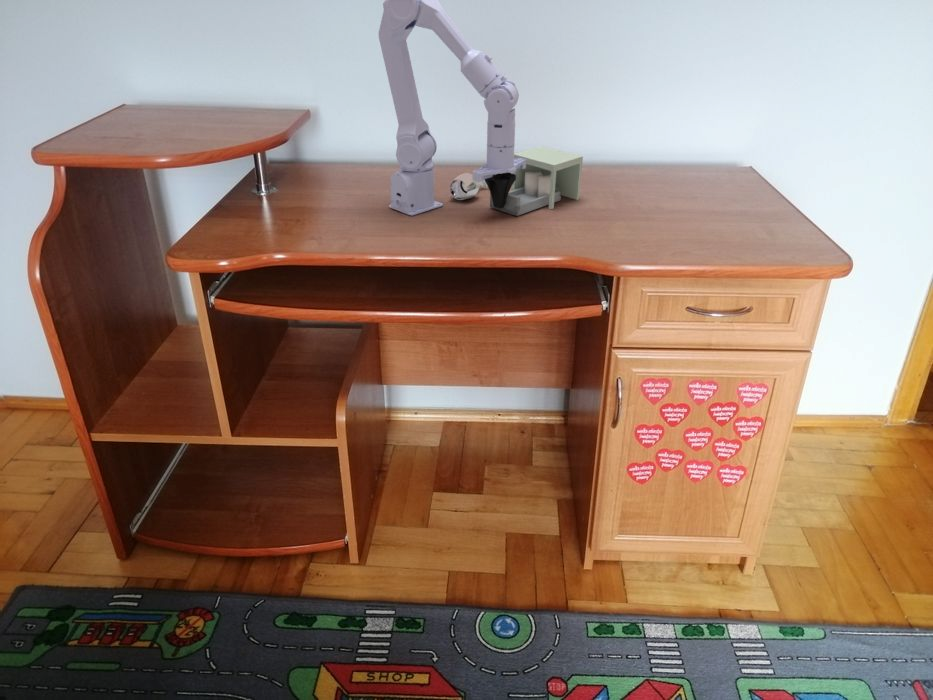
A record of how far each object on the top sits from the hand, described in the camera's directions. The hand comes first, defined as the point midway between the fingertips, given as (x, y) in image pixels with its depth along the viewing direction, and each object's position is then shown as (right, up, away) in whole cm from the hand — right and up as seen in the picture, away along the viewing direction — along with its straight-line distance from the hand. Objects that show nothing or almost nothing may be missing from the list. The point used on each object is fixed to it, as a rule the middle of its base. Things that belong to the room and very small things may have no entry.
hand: (498, 207), depth 152 cm
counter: (+11, +4, +10) cm, 16 cm away
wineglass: (-3, +10, +15) cm, 19 cm away
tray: (+6, +2, +6) cm, 9 cm away
